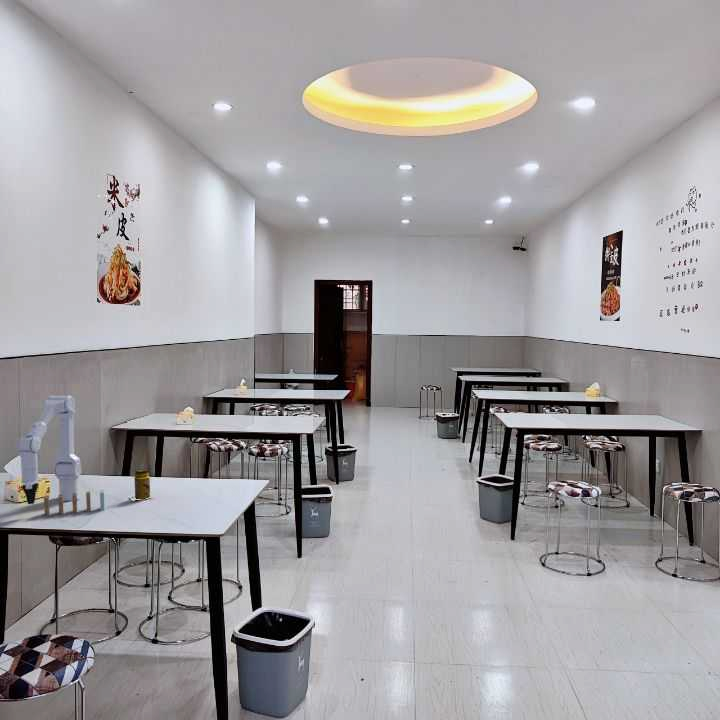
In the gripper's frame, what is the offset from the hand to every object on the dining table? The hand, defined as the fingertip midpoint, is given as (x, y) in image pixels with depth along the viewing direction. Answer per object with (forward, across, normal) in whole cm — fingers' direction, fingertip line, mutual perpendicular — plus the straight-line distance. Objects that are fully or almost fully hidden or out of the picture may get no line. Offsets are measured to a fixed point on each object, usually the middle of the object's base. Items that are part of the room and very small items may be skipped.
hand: (31, 503), depth 271 cm
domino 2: (+5, 0, -10) cm, 11 cm away
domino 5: (+5, 0, -26) cm, 26 cm away
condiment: (+5, +11, -40) cm, 42 cm away
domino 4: (+5, 0, -20) cm, 21 cm away
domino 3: (+5, 0, -15) cm, 16 cm away
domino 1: (+5, 0, -5) cm, 7 cm away
